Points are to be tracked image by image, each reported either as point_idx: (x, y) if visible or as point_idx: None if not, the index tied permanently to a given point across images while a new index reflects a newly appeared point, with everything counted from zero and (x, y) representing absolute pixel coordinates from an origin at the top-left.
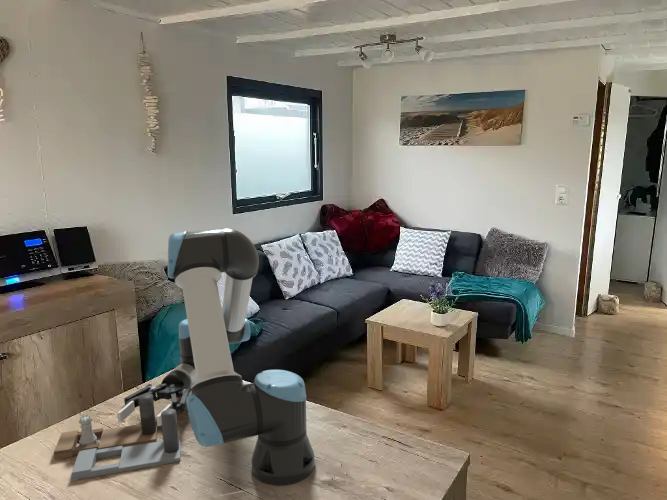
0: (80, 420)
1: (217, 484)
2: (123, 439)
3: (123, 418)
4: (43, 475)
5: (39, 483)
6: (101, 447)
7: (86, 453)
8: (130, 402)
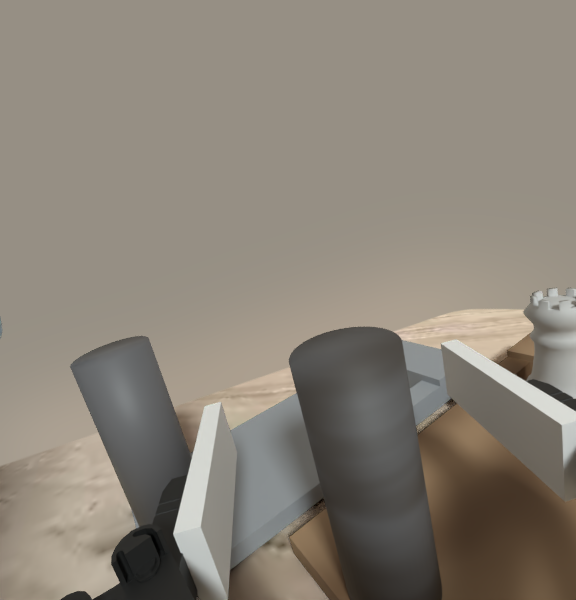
0: (553, 294)
1: (8, 482)
2: (438, 465)
3: (460, 398)
4: (470, 337)
5: (443, 331)
6: (456, 406)
7: (434, 361)
8: (551, 404)
